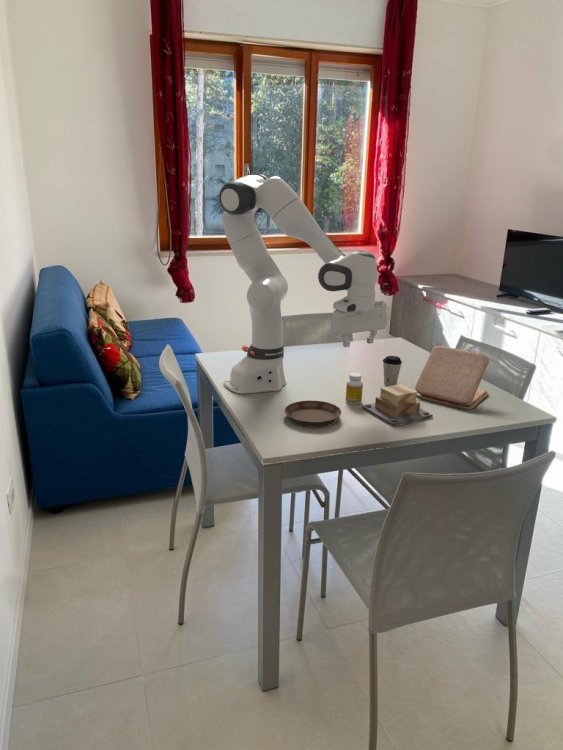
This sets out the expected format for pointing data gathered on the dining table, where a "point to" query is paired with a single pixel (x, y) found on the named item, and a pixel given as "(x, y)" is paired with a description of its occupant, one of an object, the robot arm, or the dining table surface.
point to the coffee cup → (391, 369)
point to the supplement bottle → (354, 389)
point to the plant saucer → (312, 413)
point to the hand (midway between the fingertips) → (358, 344)
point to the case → (453, 377)
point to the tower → (397, 406)
